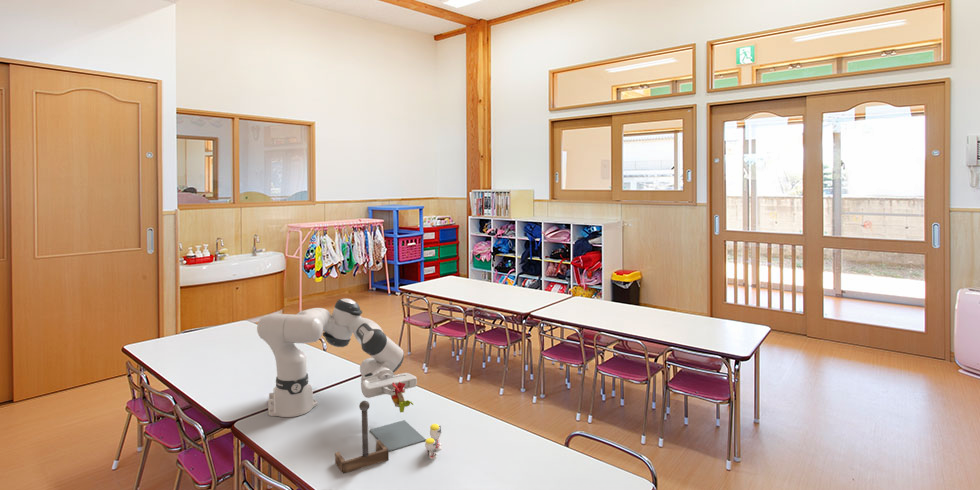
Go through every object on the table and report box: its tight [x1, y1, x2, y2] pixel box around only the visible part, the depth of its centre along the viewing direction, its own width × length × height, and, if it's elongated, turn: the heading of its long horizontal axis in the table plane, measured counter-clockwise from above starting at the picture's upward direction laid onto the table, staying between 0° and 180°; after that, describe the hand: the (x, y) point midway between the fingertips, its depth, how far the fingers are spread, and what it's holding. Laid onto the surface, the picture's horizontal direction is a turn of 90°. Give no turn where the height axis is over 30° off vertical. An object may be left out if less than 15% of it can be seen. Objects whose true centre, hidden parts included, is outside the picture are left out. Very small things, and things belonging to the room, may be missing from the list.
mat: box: [369, 419, 427, 453], centre depth 193 cm, size 18×14×1 cm
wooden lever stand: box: [334, 400, 389, 475], centre depth 174 cm, size 9×15×22 cm, turn 124°
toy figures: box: [424, 423, 442, 460], centre depth 183 cm, size 12×4×8 cm, turn 172°
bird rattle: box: [390, 382, 414, 413], centre depth 192 cm, size 6×11×9 cm
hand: (398, 392), depth 191 cm, fingers closed on bird rattle, 2 cm apart
